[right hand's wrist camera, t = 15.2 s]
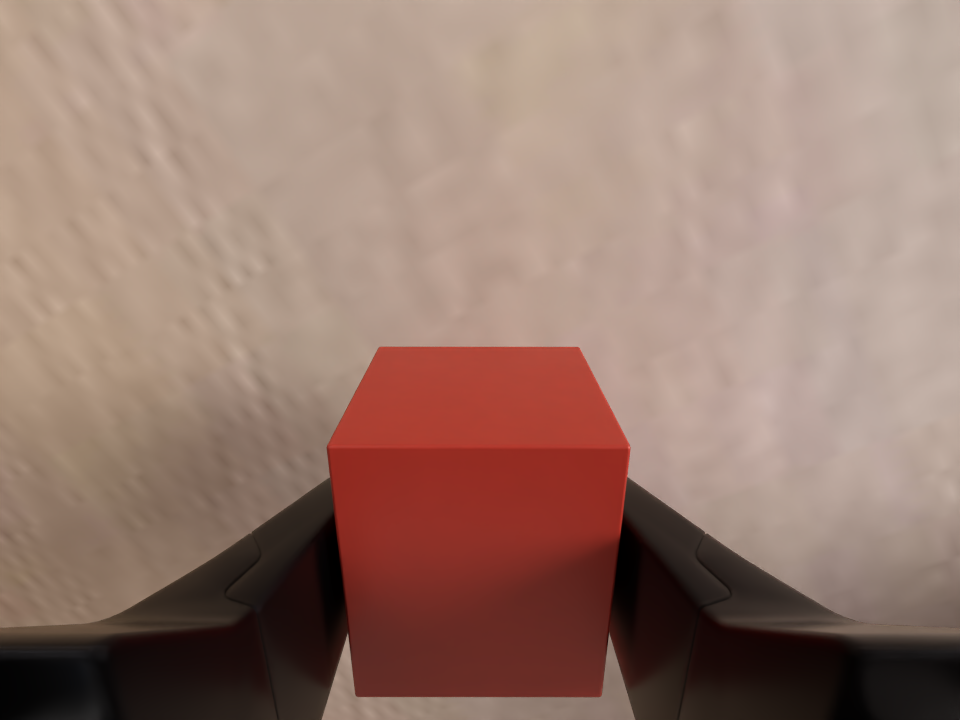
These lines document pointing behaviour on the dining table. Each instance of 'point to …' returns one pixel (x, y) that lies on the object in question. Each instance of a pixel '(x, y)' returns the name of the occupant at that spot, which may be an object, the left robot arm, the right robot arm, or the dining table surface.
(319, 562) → the right robot arm
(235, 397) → the dining table surface
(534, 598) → the brick
